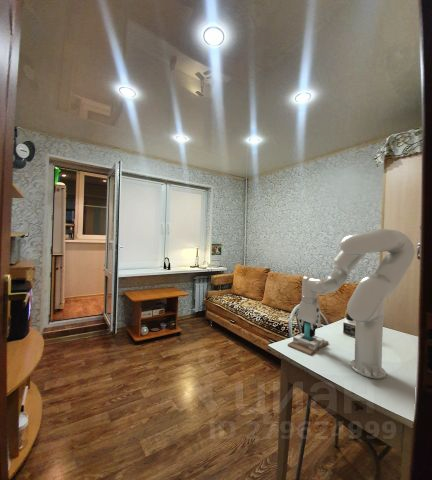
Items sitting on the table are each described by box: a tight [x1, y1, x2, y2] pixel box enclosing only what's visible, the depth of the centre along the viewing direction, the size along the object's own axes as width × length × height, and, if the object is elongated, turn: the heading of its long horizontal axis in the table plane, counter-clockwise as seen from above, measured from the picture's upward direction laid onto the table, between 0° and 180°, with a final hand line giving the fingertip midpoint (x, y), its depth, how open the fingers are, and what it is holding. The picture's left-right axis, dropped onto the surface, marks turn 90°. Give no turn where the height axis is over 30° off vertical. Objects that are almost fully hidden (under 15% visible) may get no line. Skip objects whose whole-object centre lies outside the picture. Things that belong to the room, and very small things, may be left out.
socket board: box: [287, 332, 329, 356], centre depth 117 cm, size 20×12×4 cm, turn 131°
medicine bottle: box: [342, 312, 356, 338], centre depth 131 cm, size 7×7×12 cm
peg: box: [304, 322, 312, 340], centre depth 117 cm, size 4×4×8 cm
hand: (308, 334), depth 117 cm, fingers closed on peg, 4 cm apart
